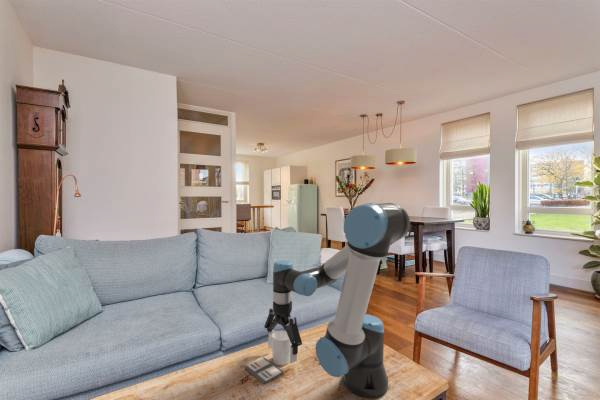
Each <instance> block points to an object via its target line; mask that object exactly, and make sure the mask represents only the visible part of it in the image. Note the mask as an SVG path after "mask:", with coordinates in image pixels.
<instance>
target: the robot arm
mask: <svg viewBox="0 0 600 400" xmlns="http://www.w3.org/2000/svg"><path fill="white" fill-rule="evenodd" d="M410 227H411V220H410V216H409V214H408V212H407V211H406V209H404V207H402V206H401V205H399V204H397V203H392V202H386V203H384V202H383V203H372V202H371V203H370V202H369V203H365V204H360V205H359V204H358V205H356V206H355V207H353V208H352V209H351V210H349V212H348V213H347V214H346V216H345V219H344V222H343V233H344V234H345V235H344V237H345V239H346V241H347V243H346V245H345V246H343V247H342V248H341V249H340V250H339V251H338V252H336V253H335V254H334V255H333V256H331V257H330V258H328V260H326V261H325V262H324V263H322V265H320V266H318V267H314V268H310V269H305V270H297V269H294V268H293V263H292V262H291V261H289V260H277V261H275V262H274V263H273V267H272V268H273V270H272V308H269V309H268V310H269V311H268V315H267V318H266V321H265V324H264V329H266V330H267V345H268V347H267V348H268V349H269V350H270V349H272V334H273V333H274V332H276V330H275V327H277V325H281V327H282V328H283V329H284V331H286V332H287V334H288V337H289V339H290V342H291V346H290V361H289V363H290V364H294V363H295V362H297V361H298V353H299V351H298V350H299V346H302V345H303V341H302V338H301V335H300V332H299V331H300V330H299V327H298V323H297V317H295V316H294V317H292V316H291V313H292V311H293V292H294V293H296V294H298V295H301V296H303V297H304V296H305V297H310V296H312V295H313V294H314V293H315V292H316V291H317V289H319V288H324V287H326V286H331V285H333V284H335V283H336V282H338V280H339V278H340V277H341V276H343V275H344V274H345V275H344V279H343V283H342V286H341V291H340V293H339V294H340V295H339V298H338V303H337V307H336V311H335V316H334V318H332V319H331V320H330V321H329V322H328V324H327V328H326V331H325V335H324V336H322V337H320V338H319V339H318V340H317V341H316V344H315V355H316V358H317V360H318V362H319V365H320V366H321V367H322V369H323V370H324V371H325V372H326V373H327V374H328V375H329V376H331V377H333V378H340V377H343V384H344V386H345V387H346V388H347V389H348V390H349V392H351V393H352V394H355V395H357V396H360V397H363V398H367V399H368V398H370V399H374V398H375V399H376V398H378V397H382V396H384V395H385V394H386V393H387V392H388V390H389V377H388V375H387V372H386V371H387V370H386V367H385V365H384V345H385V344H384V342H385V326H384V322H383V321H382V320H381V319H380V318H379V317H376V316H375V315H373V314H372V315H371V314H368V313H367V309H368V307H369V302H370V298H371V296H372V292H373V288H374V284H375V280H376V277H377V273H378V269H379V266H380V262H381V260H383V259H385V258H387V257H388V254H389V251H390V247H391V246H392V244H395V243H396V242H397V241H399V240H401V239H403V238H404V237H405V236H406V235H407V234H408V232H409V231H410Z"/></svg>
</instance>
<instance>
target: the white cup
mask: <svg viewBox="0 0 600 400" xmlns="http://www.w3.org/2000/svg"><path fill="white" fill-rule="evenodd" d="M291 345H292V344H291V342H290V339H289V337H288V334H287V332H286V330H275V332H274V333H273V334H272V348H271V352H272V363H273V364H274V365H276V366H285V365H288V364H289V363H290V346H291Z"/></svg>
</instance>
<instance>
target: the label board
mask: <svg viewBox="0 0 600 400" xmlns="http://www.w3.org/2000/svg"><path fill="white" fill-rule="evenodd" d="M244 370H245V371H246V372H248V373H249V374H250V375H251V376H252V377H253V378H255V379H256V380H257V381H258V382H259V383H261V385H263V386H264V385H266V384H267V383H269V382H272V381H273V380H275V379H276V378H278V377H280V376H282V375H284V374H285V373H284V370H282V369H281V368H279V366H278V365H276V364H275V363H274V362H271V361H270V360H268V359H267V358H266V357H260V358H259V359H256V360H255V361H252V362H250V363H248V364H246V366H244Z"/></svg>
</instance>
